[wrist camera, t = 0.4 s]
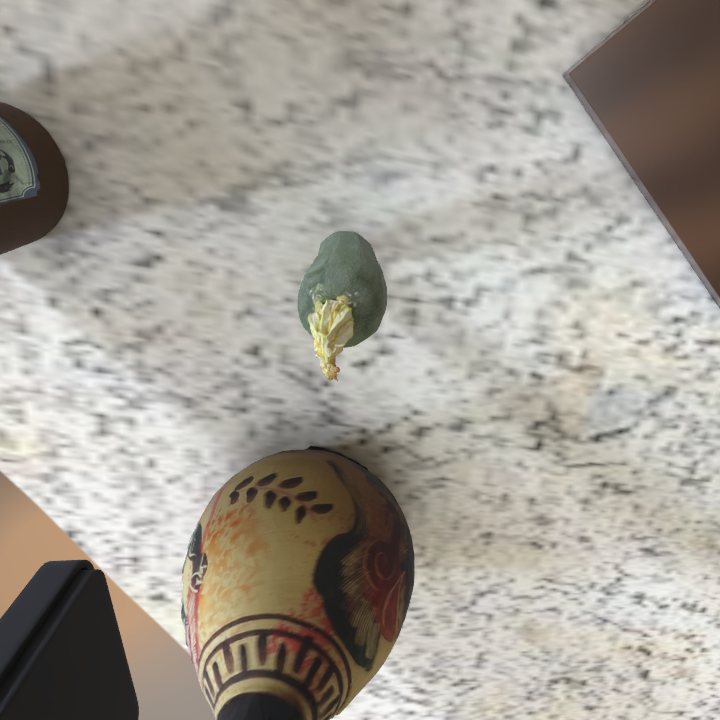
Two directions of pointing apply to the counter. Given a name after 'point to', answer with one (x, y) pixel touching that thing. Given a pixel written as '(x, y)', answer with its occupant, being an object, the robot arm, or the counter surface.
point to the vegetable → (342, 297)
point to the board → (665, 118)
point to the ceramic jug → (295, 587)
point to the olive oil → (28, 180)
